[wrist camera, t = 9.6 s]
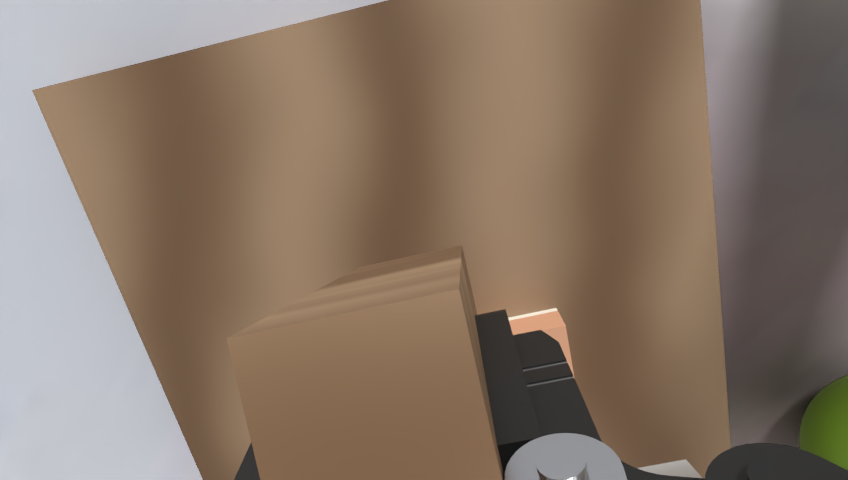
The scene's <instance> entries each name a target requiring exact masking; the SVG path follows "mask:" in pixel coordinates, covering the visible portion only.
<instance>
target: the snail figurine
mask: <svg viewBox="0 0 848 480" xmlns="http://www.w3.org/2000/svg"><path fill="white" fill-rule="evenodd" d="M799 448H800V449H802V450H805V451H808V452H810V453H813V454H815V455H817V456H820V457H822V458H824V459H826V460H828V461H830V462H832V463H834V464H836V465H838V466H840V467H842V468H844V469H846V470H848V375H846V376H844V377H841V378H839V379H837V380H835V381H833V382H832V383H830V384H829V385H827V386H826V387H825V388H823V389H822V390H821V391H820V392H819V393H818V394H817V395H816V396H815V397H814V398H813V399H812V401H811V402H810V404H809V405H808V407H807V409H806V411H805V413H804V415H803V418H802V421H801V425H800V431H799Z"/></svg>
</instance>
